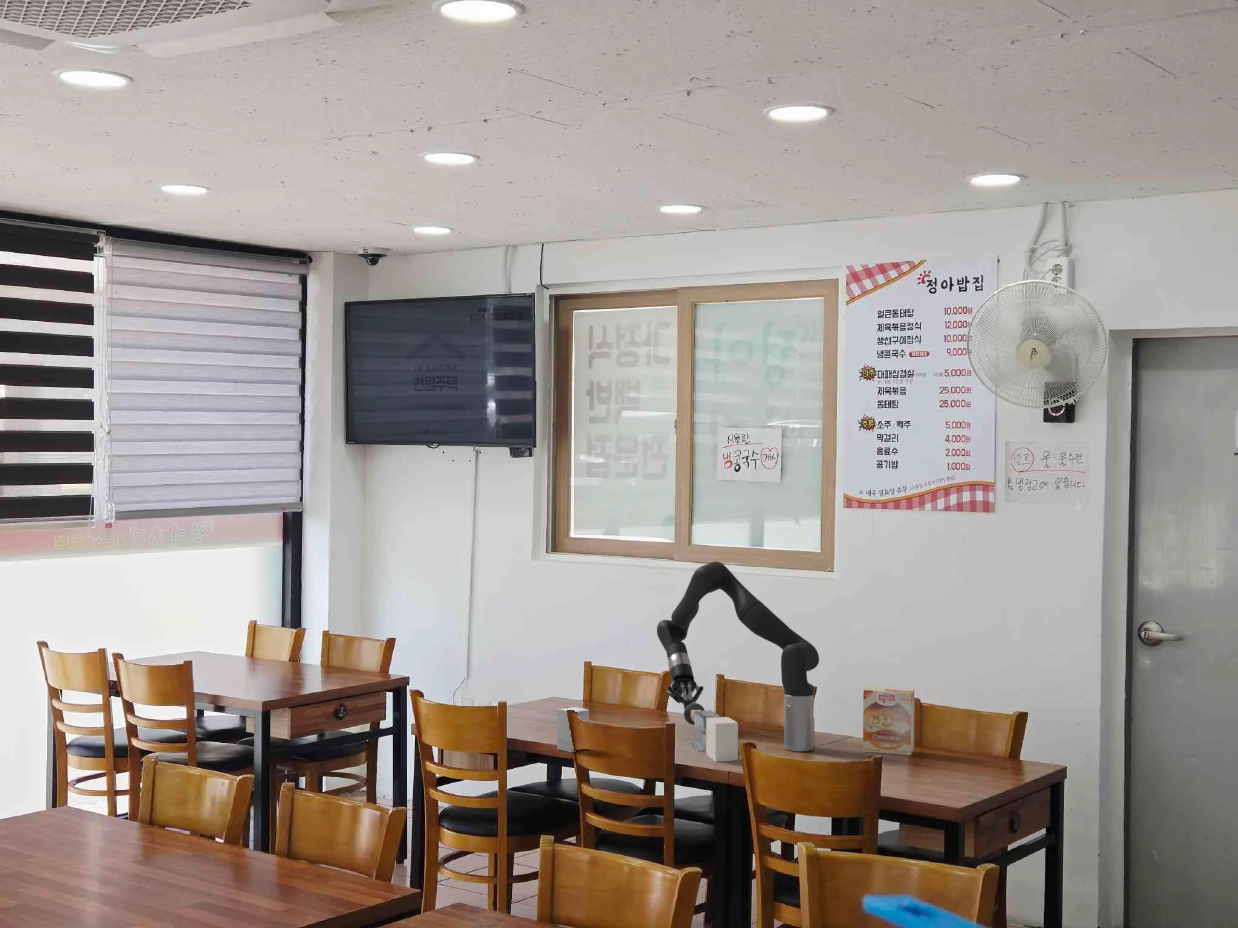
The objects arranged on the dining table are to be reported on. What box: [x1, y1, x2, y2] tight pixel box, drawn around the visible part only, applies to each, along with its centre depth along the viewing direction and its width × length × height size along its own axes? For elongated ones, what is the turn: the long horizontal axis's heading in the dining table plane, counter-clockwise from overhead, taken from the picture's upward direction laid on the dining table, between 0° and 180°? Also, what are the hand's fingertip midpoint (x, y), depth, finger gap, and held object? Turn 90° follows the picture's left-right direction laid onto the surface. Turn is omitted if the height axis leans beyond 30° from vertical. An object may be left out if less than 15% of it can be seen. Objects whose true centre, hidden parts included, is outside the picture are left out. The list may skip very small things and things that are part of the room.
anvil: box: [687, 709, 721, 753], centre depth 435 cm, size 12×9×11 cm
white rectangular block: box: [705, 716, 739, 762], centre depth 419 cm, size 10×7×11 cm
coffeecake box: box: [862, 686, 915, 756], centre depth 429 cm, size 15×7×20 cm, turn 70°
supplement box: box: [556, 706, 590, 753], centre depth 430 cm, size 7×7×13 cm
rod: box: [683, 702, 706, 726], centre depth 438 cm, size 23×7×7 cm, turn 13°
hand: (689, 711), depth 454 cm, fingers closed
